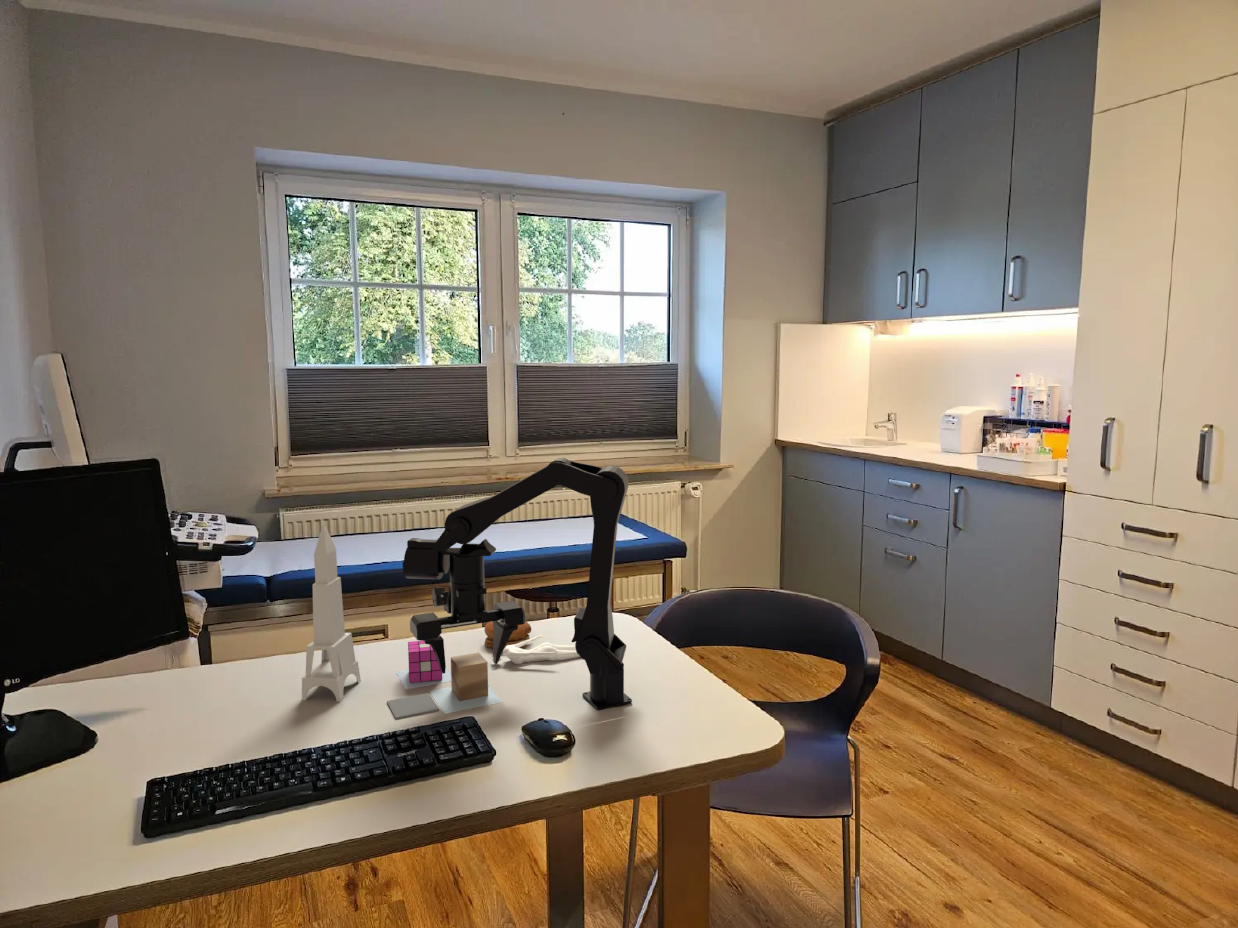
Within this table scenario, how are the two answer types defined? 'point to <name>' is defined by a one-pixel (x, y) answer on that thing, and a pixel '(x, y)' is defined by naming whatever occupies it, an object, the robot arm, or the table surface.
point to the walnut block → (469, 676)
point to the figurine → (538, 652)
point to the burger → (515, 637)
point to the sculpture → (328, 626)
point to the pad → (412, 706)
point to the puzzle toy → (422, 663)
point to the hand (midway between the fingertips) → (469, 667)
